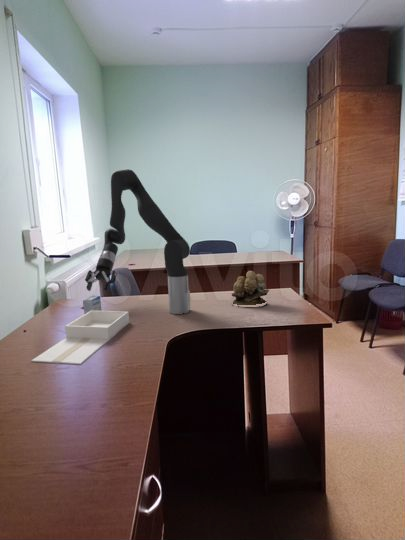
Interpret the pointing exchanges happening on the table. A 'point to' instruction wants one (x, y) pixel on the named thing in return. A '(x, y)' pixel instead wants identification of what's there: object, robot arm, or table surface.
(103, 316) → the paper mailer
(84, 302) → the medicine box
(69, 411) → the table surface
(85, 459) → the table surface
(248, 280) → the brown lumpy mound
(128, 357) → the table surface
